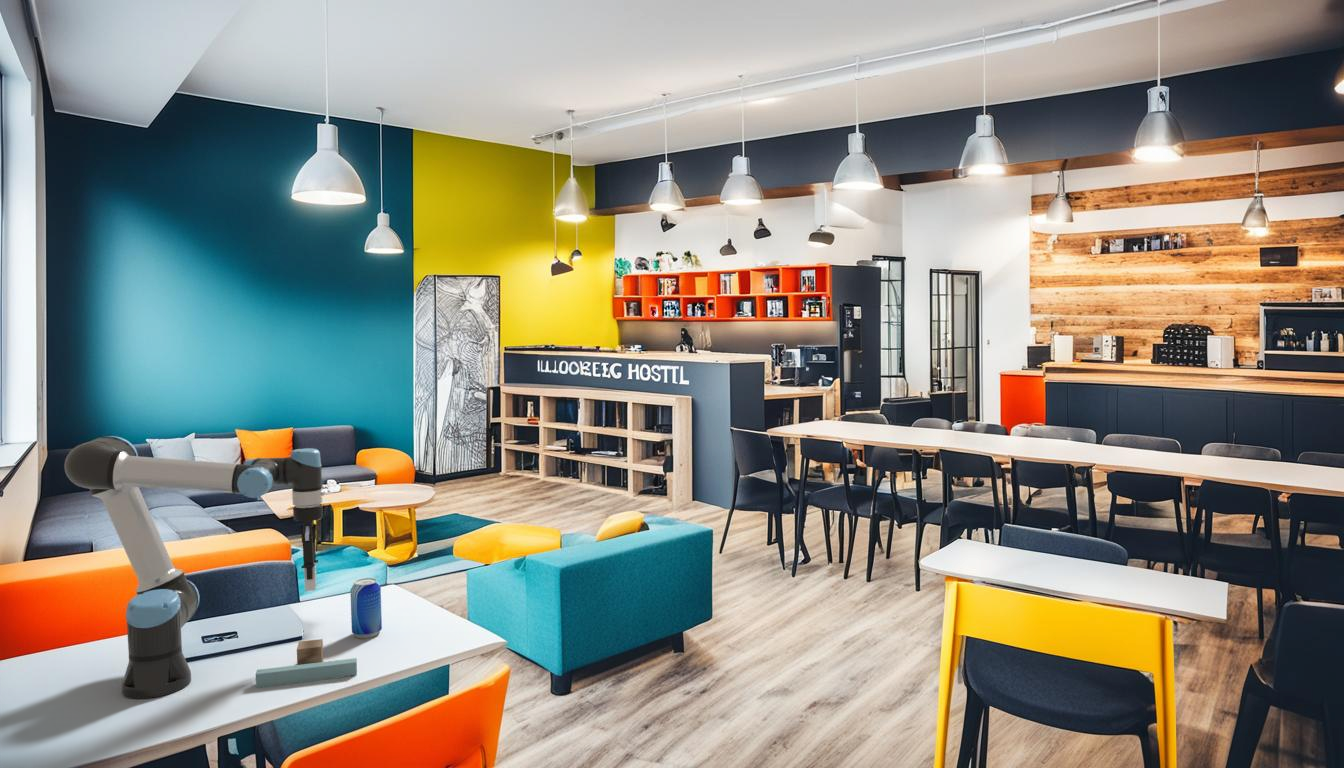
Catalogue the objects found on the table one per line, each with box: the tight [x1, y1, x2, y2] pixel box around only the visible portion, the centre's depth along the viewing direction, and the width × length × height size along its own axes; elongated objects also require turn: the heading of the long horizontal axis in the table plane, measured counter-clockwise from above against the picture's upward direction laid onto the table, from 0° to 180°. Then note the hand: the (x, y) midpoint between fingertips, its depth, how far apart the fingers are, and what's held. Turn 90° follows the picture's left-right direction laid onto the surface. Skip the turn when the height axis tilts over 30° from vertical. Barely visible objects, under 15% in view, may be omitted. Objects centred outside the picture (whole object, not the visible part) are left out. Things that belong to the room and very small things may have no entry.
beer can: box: [350, 577, 383, 639], centre depth 258 cm, size 8×8×16 cm
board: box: [255, 657, 358, 688], centre depth 226 cm, size 24×3×4 cm, turn 108°
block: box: [296, 638, 324, 665], centre depth 235 cm, size 6×6×6 cm
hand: (310, 588), depth 243 cm, fingers open, 2 cm apart
